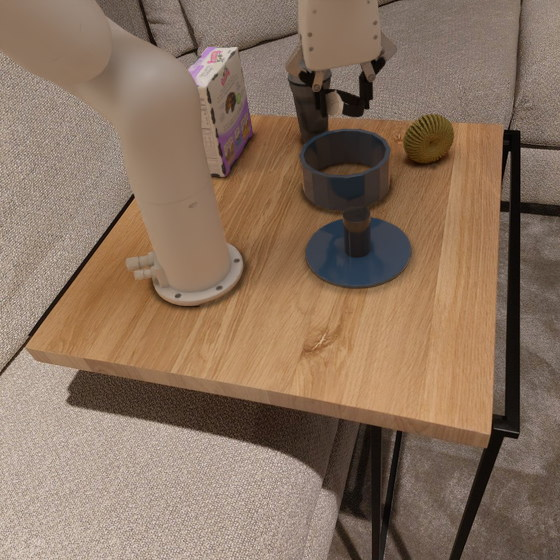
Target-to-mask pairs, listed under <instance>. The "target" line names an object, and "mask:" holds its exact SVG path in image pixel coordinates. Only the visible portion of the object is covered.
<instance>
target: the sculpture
mask: <svg viewBox="0 0 560 560" xmlns="http://www.w3.org/2000/svg"><path fill="white" fill-rule="evenodd" d="M454 139H455V129H454V126H453V125H452V123H451V121H450V120H449V119H448V118H446V117H445V116H443V115H441V114H438V113H437V114H434V113H430V114H425V115H422V116H420V117H418V118H417V119H415V120H414V121H413V122H412V123H411V124H410V125H408V128H407V129H406V130H405V133H404V136H403V140H402V144H403V150H404V152H405V154H406V156H407V157H408V158H409V159H410V160H412V161H413V162H414V163H418V164H431V163H434V162H436V161H439V160H440V159H442V158H443V157H444V156H445V155H446V154H448V152H449V151H450V149H451V147H452V146H453V143H454Z"/></svg>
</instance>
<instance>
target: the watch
mask: <svg viewBox="0 0 560 560" xmlns="http://www.w3.org/2000/svg"><path fill="white" fill-rule="evenodd" d="M324 90H325V94H326V107H327V113H328V114H329V116H330V117H338V116H339V115H341V116H343V115H344V116H345V117H350V118H361V117H363V116H364V114H365V104H366V103H365V101H364V100H362V99H361V98H360V97H359V95H356V94H354V93H353V94H352V93H350V92H348V91H345V90H341V89H336V88H329V89H324Z"/></svg>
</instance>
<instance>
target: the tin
mask: <svg viewBox="0 0 560 560" xmlns="http://www.w3.org/2000/svg"><path fill="white" fill-rule="evenodd" d="M391 155H392V149H391V146H390V145H389V143H388V140H387V139H386V138H385V137H383V136H381V135H380V134H379V133H376V132H375V131H370V130H366V129H363V128H338V129H333V130H328V131H327V132H324V133H322V134H320V135H317V136H315V137H313V138H312V139H310V140H309V141H308V142H307V143H306V144H305V143H304V144H303V145H302V147H301V149H300V152H299V154H298V157H299V166H300V176H301V177H300V178H301V185H302V190H303V193H304V197H305V198H306V199H308V200H309V201H310V202H311V203H312V204H313V205H315V206H317V207H319V208H320V207H321V208H323V209H326V210H330V211H343V212H344V210H345V209H347V208H348V207H351V206H364V207H366V208H368V207H369V206H372V205H374V204H375V203H377V202H380V201H381V200H382V199H383V198H384V197H385V196H386V195H387V193H389V189H390V186H391V169H392V167H391V163H392V162H391V161H392V158H391ZM343 163H347V164H349V163H352V164H362V165H365V166H369V167H370V168H368V169H366V170H363V171H361V172H356V173H350V174H331V173H326V172H322V171H320V170H323V169H325V168H327V167H329V166H333V165H339V164H343Z"/></svg>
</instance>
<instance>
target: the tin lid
mask: <svg viewBox="0 0 560 560" xmlns="http://www.w3.org/2000/svg"><path fill="white" fill-rule="evenodd" d="M371 216H372V215H371V211H370V209H369V208H368V207H364V206H351V207H348V208H347V209H345V210H344V211H343V212H342V218H340V219H336V220H333V221H331V222H329V223H326V224H325V225H323V226H322V227H319V228H318V229H317V230H316V231H315V232H314V233H313V234H312V235H311V237H310V238H309V240H307V241H308V242H307V244H306V246H305V247H306V248H305V260H306V263H307V266H308V267H309V269H310V270H311V272H312V273H313V274H314V275H315V276H317V278H319V279H320V280H322V281H324V282H326V283H328V284H331V285H333V286H336V287H341V288H347V289H366V288H367V289H368V288H372V287H377V286H380V285H384V284H385V283H388V282H390V281H392V280H393V279H395V278H396V277H398V276H400V275H401V274H402V273H403V271H404V270H405V269H406V268H407V266H408V265H409V264H410V263H409V262H410V261H411V257H412V245H411V242H410V239H409V238H408V236H407V234H406V233H405V232H404V231H403V230H402V229H401V228H400V227H398V226H397V225H395V224H394V223H392V222H390V221H387V220H384V219H380V218H377V217H371Z"/></svg>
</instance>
